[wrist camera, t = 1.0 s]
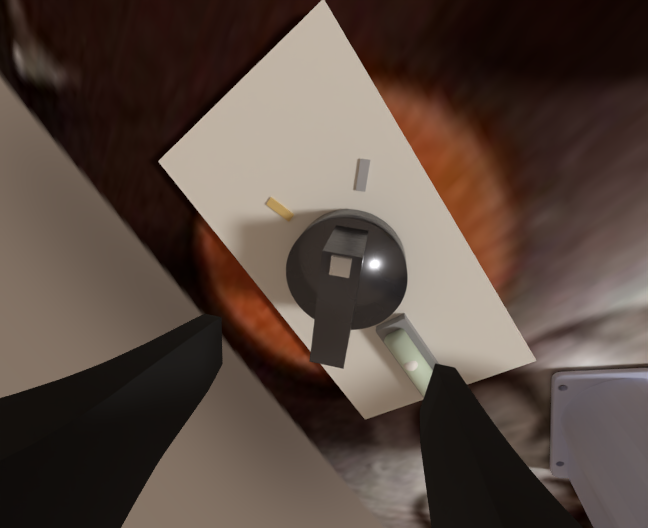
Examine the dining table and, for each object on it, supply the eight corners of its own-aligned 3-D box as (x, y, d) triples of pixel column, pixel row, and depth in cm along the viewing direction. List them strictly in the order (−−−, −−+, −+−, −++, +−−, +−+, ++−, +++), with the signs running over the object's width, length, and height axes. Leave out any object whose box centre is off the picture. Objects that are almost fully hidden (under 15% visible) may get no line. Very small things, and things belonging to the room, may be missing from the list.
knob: (393, 320, 19) (394, 389, 14) (292, 300, 20) (259, 359, 15) (417, 219, 17) (429, 260, 12) (299, 200, 18) (263, 232, 13)
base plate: (526, 345, 20) (551, 384, 17) (366, 403, 25) (362, 443, 22) (329, 9, 15) (313, -20, 12) (173, 158, 20) (133, 165, 17)
